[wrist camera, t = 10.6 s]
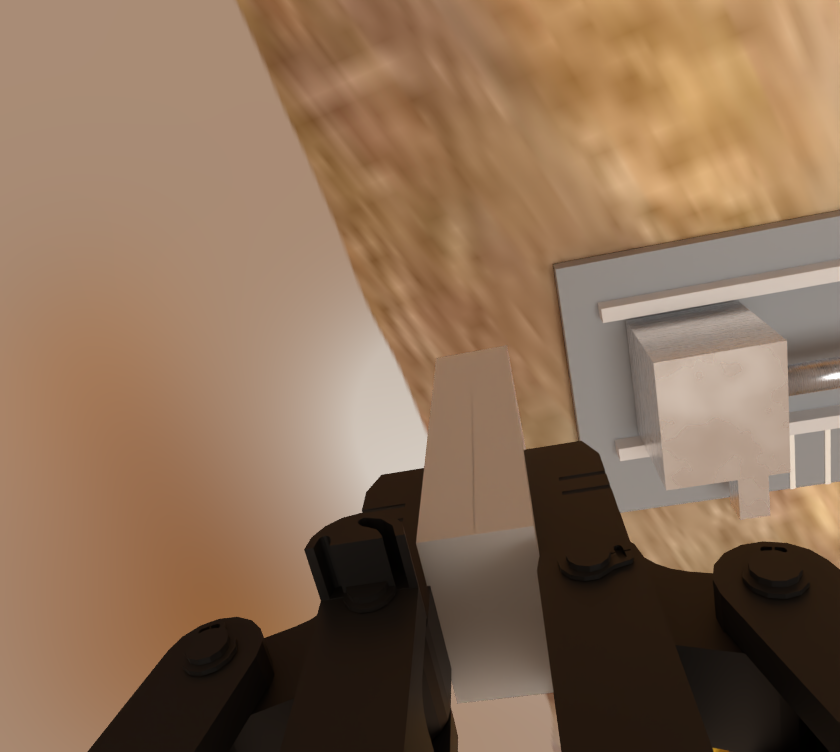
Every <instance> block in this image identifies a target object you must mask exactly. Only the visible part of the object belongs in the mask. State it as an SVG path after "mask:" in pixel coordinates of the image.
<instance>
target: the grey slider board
mask: <svg viewBox="0 0 840 752" xmlns="http://www.w3.org/2000/svg"><path fill="white" fill-rule="evenodd" d="M553 267H554V274H555V281H556V288H557V294H558V301H559V308H560V315H561V322H562V329H563V336H564V343H565V349H566V356H567V363H568V370H569V377H570V384H571V391H572V398H573V404H574V411H575V418H576V425H577V432H578V439H579V441H583V442H584V443H586V444H587V445H588V446H590V447H591V448H592V449H594V450H595V451H597V452H598V453H599V454H600V457H601V460H602V463H603V466H604V469H605V473H606V474H607V477H608V480H609V483H610V487H611V489H612V491H613V494H614V497H615V500H616V503H617V506H618V509H619V511H620V513H621V512H628V511H635V510H642V509H649V508H656V507H663V506H670V505H677V504H684V503H691V502H699V501H706V500H713V499H720V498H727V497H730V487H729V481H728V482H721V483H714V484H707V485H701V486H694V487H687V488H680V489H673V490H666V489H665V487H664V485H663V483H662V481H661V479H660V477H659V475H658V473H657V470H656V468H655V466H654V464H653V462H652V460H651V458H650V456H649V454H648V452H647V450H646V448H645V446H644V444H643V442H642V440H641V437H640V435H639V433H638V427H637V418H636V409H635V400H634V391H633V382H632V373H631V365H630V356H629V347H628V338H627V329H626V320H631V319H637V318H642V317H648V316H654V315H659V314H665V313H671V312H676V311H682V310H688V309H693V308H699V307H705V306H710V305H716V304H722V303H727V302H733V301H739V302H740V303H742V304H743V305H744V306H745V307H747V308H748V309H749V310H750V311H751V312H753V313H754V314H755V315H756V316H758V317H759V318H760V319H761V320H762V321H764V322H765V323H766V324H767V325H769V326H770V327H771V328H772V329H773V330H775V331H776V332H777V333H778V334H780V335H781V336H782V337H783V338H784V339H786V340H787V358H788V365H790V364H796V363H802V362H808V361H814V360H820V359H826V358H833V357H839V356H840V210H837V211H832V212H827V213H821V214H816V215H811V216H806V217H800V218H795V219H790V220H784V221H779V222H774V223H769V224H763V225H758V226H753V227H747V228H742V229H737V230H732V231H726V232H721V233H716V234H710V235H705V236H700V237H695V238H689V239H684V240H679V241H673V242H668V243H663V244H658V245H652V246H647V247H642V248H636V249H631V250H626V251H621V252H615V253H610V254H605V255H599V256H594V257H589V258H584V259H578V260H573V261H568V262H562V263H557V264H553ZM789 432H790V469H791V472H790V473H783V474H776V475H769V491H776V490H783V489H796V488H797V487H804V486H811V485H818V484H831V483H832V482H839V481H840V388H839V389H833V390H826V391H820V392H814V393H807V394H801V395H795V396H789Z"/></svg>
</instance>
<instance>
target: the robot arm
mask: <svg viewBox="0 0 840 752" xmlns="http://www.w3.org/2000/svg"><path fill="white" fill-rule="evenodd" d="M362 512H363V513H359V514H356V515H352V516H348V517H344V518H341V519H339V520H337V521H335V522H333V523H331V524H330V525H327V526H325V527H324V528H323V529H322V530H320V531H319V532H318V533H316V534H315V535H314V536H313V537H312V538H311V539H310V541H309V543H308V544H307V546H306V548H305V549H304V550H305V553H306V556H307V559H308V562H309V565H310V569H311V572H312V575H313V578H314V581H315V584H316V587H317V590H318V593H319V596H320V599H321V603H320V606H319V610H318V614H317V616H315V617H314V618H313V619H311V620H309V621H307V622H304V623H302V624H300V625H298V626H296V627H293V628H291V629H288V630H285V631H282V632H280V633H277V634H274V635H271V636H269V637H266V638H264V637H263V634H262V632H261V629H260V628H259V627H258V626H257V625H256V624H255V623H254V622H253V621H252V620H248V619H244V618H240V617H232V618H223V619H218V620H215V621H212V622H209V623H207V624H204V625H201V626H199V627H198V628H196V629H194V630H193V631H191V632H190V633H188V634H186V635H185V636H183V637H182V638H181V639H180V640H179V641H178V642H177V643H176V644H175V645H173V647H171V648H170V649H169V650H168V652H167V653H166V654H165V655H164V656H163V658H162V659H161V660H160V662H159V663H158V664H157V665H156V666H155V668H154V669H153V670H152V671H151V673H150V674H149V675H148V677H147V678H146V679H145V680H144V682H143V683H142V684H141V685H140V687H139V688H138V689H137V690H136V692H135V693H134V694H133V695H132V697H131V698H130V699H129V700H128V702H127V703H126V704H125V705H124V707H123V708H122V709H121V710H120V712H119V713H118V714H117V715H116V717H115V718H114V719H113V721H112V722H111V723H110V724H109V725H108V727H107V728H106V729H105V731H104V732H103V733H102V734H101V736H100V737H99V738H98V739H97V741H96V742H95V743H94V744H93V746H92V747H91V748H90V749H89V751H88V752H458V735H457V730H456V726H455V722H454V718H453V714H452V711H451V681H452V684H453V689H454V692H455V696H456V700H457V703H467V702H476V701H484V700H493V699H502V698H510V697H519V696H528V695H537V694H546V693H554V700H555V707H556V714H557V722H558V729H559V736H560V744H561V751H562V752H714V751H713V748H717V749H722V750H728V751H729V752H840V569H838V568H837V567H836V566H835V565H834V564H832V563H831V562H830V561H829V560H827V559H825V558H823V557H822V556H820V555H818V554H817V553H815V552H813V551H811V550H809V549H806V548H802V547H799V546H795V545H792V544H788V543H778V542H757V543H751V544H745V545H740V546H738V547H736V548H734V549H732V550H730V551H728V552H726V553H724V554H723V555H722V556H721V557H720V559H719V560H718V561H717V562H716V563H715V565H714V571H713V574H712V573H700V572H688V571H681V570H675V569H670V568H667V567H664V566H661V565H658V564H655V563H653V562H652V561H650V560H648V559H646V558H644V557H643V555H642V554H641V553H640V551H639V550H638V548H637V547H636V546H635V544H633V543H631V542H630V540H629V537H628V534H627V531H626V529H625V526H624V523H623V520H622V517H621V514H620V511H619V509H618V506H617V503H616V500H615V497H614V494H613V491H612V489H611V487H610V483H609V480H608V477H607V474H606V473H605V469H604V466H603V463H602V460H601V457H600V454H599V453H598V452H597V451H595V450H594V449H592V448H591V447H590V446H588V445H587V444H586V443H584V442H583V441H577V442H571V443H565V444H558V445H552V446H546V447H540V448H533V449H527V450H526V447H525V442H524V436H523V431H522V425H521V420H520V414H519V409H518V403H517V398H516V392H515V387H514V381H513V376H512V370H511V365H510V359H509V354H508V348H507V345H506V346H501V347H495V348H490V349H484V350H479V351H473V352H467V353H462V354H456V355H451V356H445V357H440V358H436V365H435V374H434V383H433V393H432V402H431V411H430V420H429V429H428V438H427V448H426V457H425V466H424V468H422V469H416V470H409V471H403V472H397V473H391V474H384V475H381V476H380V477H379V479H378V480H377V481H376V482H375V483H374V484H373V486H371V488H370V489H369V490H368V491H367V492H366V496H365V500H364V505H363V508H362Z"/></svg>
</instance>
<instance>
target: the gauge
mask: <svg viewBox="0 0 840 752" xmlns="http://www.w3.org/2000/svg"><path fill="white" fill-rule="evenodd" d="M626 329H627V338H628V347H629V356H630V365H631V373H632V382H633V391H634V400H635V409H636V418H637V427H638V433H639V435H640V437H641V440H642V442H643V444H644V446H645V448H646V450H647V452H648V454H649V456H650V458H651V460H652V462H653V464H654V466H655V468H656V470H657V473H658V475H659V477H660V479H661V481H662V483H663V485H664V487H665V489H666V490H673V489H680V488H687V487H694V486H701V485H707V484H714V483H721V482H728V481H729V487H730V503H731V506H732V507H733V509H734V510H735V512H736V514H737V515H738V517H739V519H740V520H742V519H749V518H756V517H763V516H770V499H769V475H776V474H783V473H790V472H791V469H790V432H789V396H795V395H801V394H807V393H814V392H820V391H826V390H833V389H839V388H840V356H839V357H833V358H826V359H820V360H814V361H808V362H802V363H796V364H790V365H788V358H787V340H786V339H784V338H783V337H782V336H781V335H780V334H778V333H777V332H776V331H775V330H773V329H772V328H771V327H770V326H769V325H767V324H766V323H765V322H764V321H762V320H761V319H760V318H759V317H758V316H756V315H755V314H754V313H753V312H751V311H750V310H749V309H748V308H747V307H745V306H744V305H743V304H742V303H740V302H739V301H733V302H727V303H722V304H716V305H710V306H705V307H699V308H693V309H688V310H682V311H676V312H671V313H665V314H659V315H654V316H648V317H642V318H637V319H631V320H626Z"/></svg>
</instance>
